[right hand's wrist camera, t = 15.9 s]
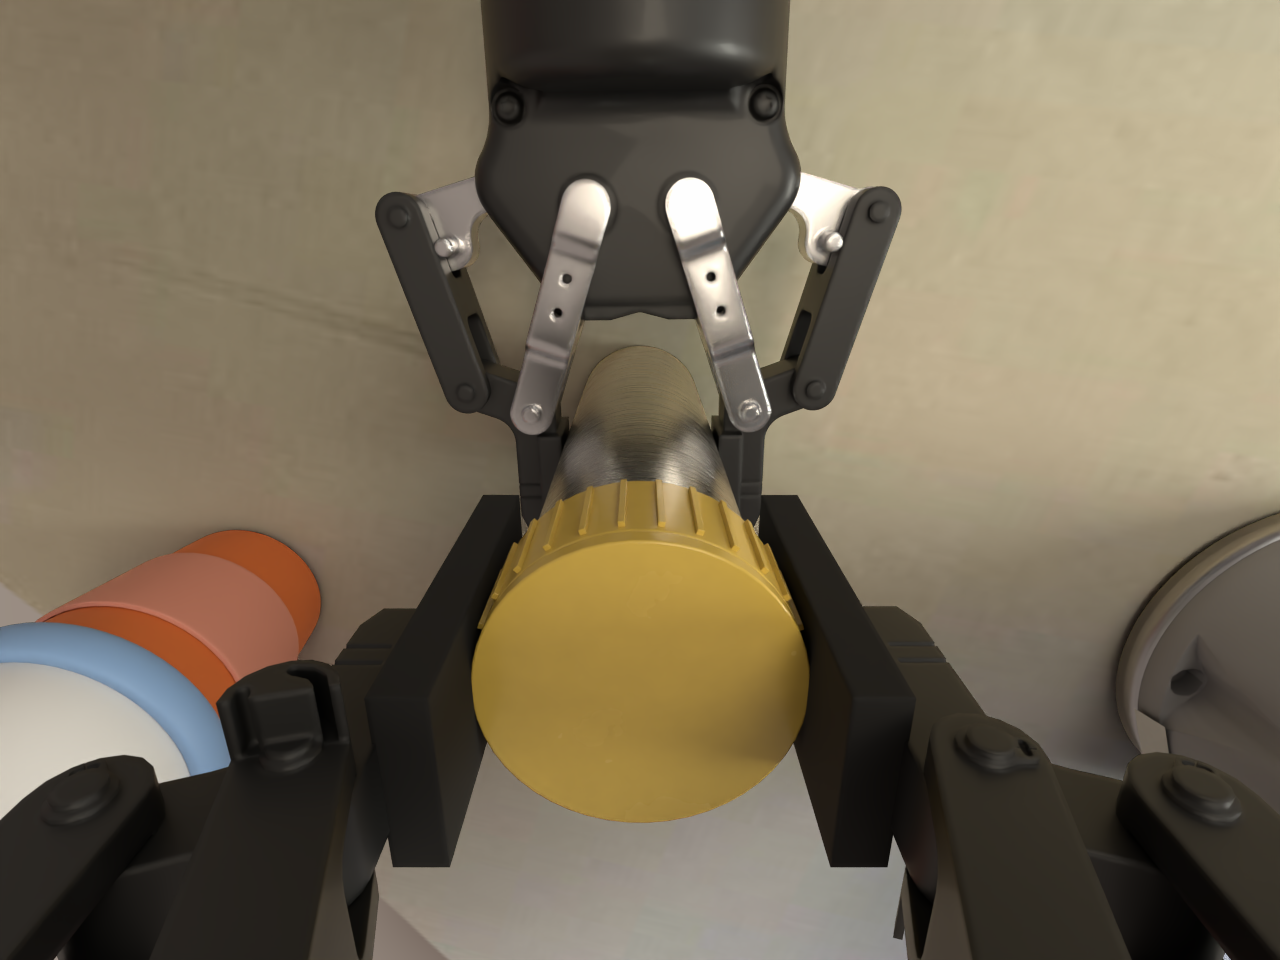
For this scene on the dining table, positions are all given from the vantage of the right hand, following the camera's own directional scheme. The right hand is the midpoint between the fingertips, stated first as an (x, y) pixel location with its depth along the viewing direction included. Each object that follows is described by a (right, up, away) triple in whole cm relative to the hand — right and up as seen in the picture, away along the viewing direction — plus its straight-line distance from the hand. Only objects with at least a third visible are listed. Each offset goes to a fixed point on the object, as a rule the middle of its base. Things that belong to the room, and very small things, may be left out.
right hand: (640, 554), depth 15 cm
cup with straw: (-17, -3, +15) cm, 23 cm away
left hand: (0, 0, +7) cm, 7 cm away
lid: (0, -2, -4) cm, 4 cm away
